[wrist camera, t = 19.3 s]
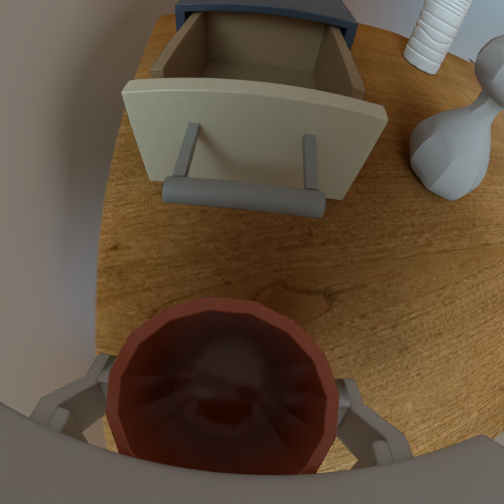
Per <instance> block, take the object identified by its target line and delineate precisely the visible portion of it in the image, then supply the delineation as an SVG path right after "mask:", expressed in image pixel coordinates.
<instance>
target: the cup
mask: <svg viewBox="0 0 504 504" xmlns="http://www.w3.org/2000/svg"><path fill="white" fill-rule="evenodd" d="M339 398H340V397H339V392H338V389H337V386H336V383H335V380H334V377H333V374H332V371H331V368H330V366H329V363H328V360H327V357H326V355H325V353H324V352H323V351H322V350H321V349H320V348H319V347H318V346H317V344H316V343H315V342H314V341H313V340H312V339H311V338H310V337H309V336H308V334H307V333H306V332H305V331H304V330H303V329H302V328H301V327H300V326H299V324H298V323H297V322H295V321H294V320H292V319H290V318H288V317H286V316H284V315H282V314H280V313H278V312H276V311H274V310H272V309H270V308H268V307H266V306H264V305H262V304H260V303H258V302H254V301H252V300H241V299H231V298H221V297H212V296H209V297H203V298H199V299H196V300H192V301H188V302H185V303H181V304H177V305H174V306H170V307H166V308H165V309H162V310H161V311H160V312H158V313H157V314H156V315H155V316H153V317H152V318H151V319H149V320H148V321H147V322H145V323H144V324H143V325H141V326H140V327H139V328H137V329H136V330H135V331H134V332H132V333H131V334H130V335H129V336H128V338H127V340H126V342H125V343H124V345H123V347H122V349H121V351H120V352H119V354H118V356H117V358H116V360H115V361H114V363H113V365H112V367H111V369H110V372H109V377H108V388H107V400H106V413H107V414H106V416H107V419H108V423H109V426H110V429H111V431H112V434H113V437H114V440H115V443H116V445H117V448H118V451H119V453H120V454H123V455H127V456H131V457H134V458H138V459H142V460H147V461H151V462H155V463H160V464H165V465H170V466H176V467H182V468H188V469H195V470H202V471H210V472H220V473H231V474H247V475H301V474H315V473H316V472H317V470H318V468H319V467H320V465H321V463H322V462H323V460H324V458H325V456H326V455H327V453H328V451H329V449H330V447H331V446H332V444H333V442H334V440H335V437H336V432H337V422H338V411H339Z"/></svg>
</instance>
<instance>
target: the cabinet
mask: <svg viewBox="0 0 504 504" xmlns="http://www.w3.org/2000/svg"><path fill="white" fill-rule="evenodd" d="M194 11H232V12H250V13H262V14H271V15H279V16H287V17H293V18H300V19H305V20H311V21H316V22H321V23H325V24H330V25H334V26H338V27H339V29H340V31H341V33H342V35H343V37H344V39H345V42H346V44H347V46H348V48H349V51H350V49H351V46H352V43H353V40H354V37H355V34H356V30H357V28H358V23H357V21H356V20H355V18H354V17H353V16H352V14H351V13H350V11H349V10H348V8H347V7H346V6H345V4H344V3H343V2H342V0H180V1H179V2H178V3H177V4H176V5H175V12H176V13H175V15H176V28H177V32H178V30H179V29H180V28H181V27H182V25H183V24H184V23H185V22H186V20H187V19H188V18H189V17H190V16H191V15H192V13H193V12H194Z"/></svg>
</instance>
